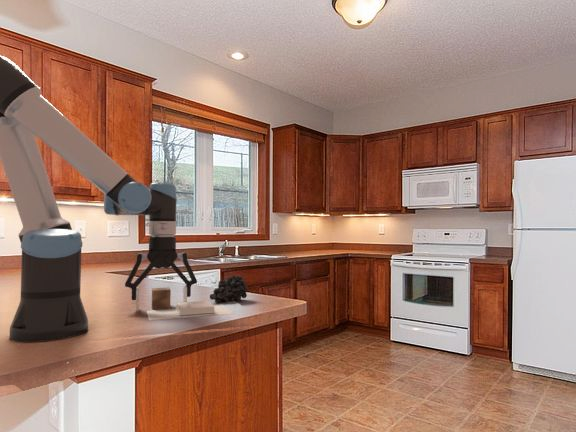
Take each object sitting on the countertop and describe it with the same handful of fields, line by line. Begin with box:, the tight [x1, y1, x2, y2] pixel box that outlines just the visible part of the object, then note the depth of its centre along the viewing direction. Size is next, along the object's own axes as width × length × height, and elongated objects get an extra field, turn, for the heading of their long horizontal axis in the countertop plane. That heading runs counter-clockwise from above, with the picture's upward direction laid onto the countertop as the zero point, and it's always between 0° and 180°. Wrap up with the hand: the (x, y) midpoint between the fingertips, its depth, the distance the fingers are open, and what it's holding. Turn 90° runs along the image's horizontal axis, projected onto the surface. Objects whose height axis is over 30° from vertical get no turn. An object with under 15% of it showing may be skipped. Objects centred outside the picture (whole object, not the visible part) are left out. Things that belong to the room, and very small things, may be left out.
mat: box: [146, 305, 234, 321], centre depth 108 cm, size 22×12×1 cm, turn 112°
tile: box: [176, 300, 215, 316], centre depth 109 cm, size 2×9×9 cm
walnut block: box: [151, 286, 172, 310], centre depth 115 cm, size 5×5×6 cm
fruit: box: [209, 275, 249, 304], centre depth 127 cm, size 9×8×15 cm
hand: (161, 309), depth 113 cm, fingers open, 12 cm apart
